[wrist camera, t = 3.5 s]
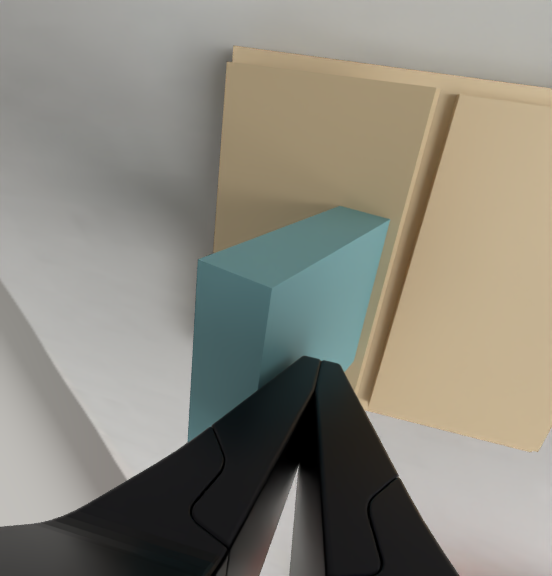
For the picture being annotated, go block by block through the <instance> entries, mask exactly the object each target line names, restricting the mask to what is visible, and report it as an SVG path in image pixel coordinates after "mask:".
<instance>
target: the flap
mask: <svg viewBox="0 0 552 576" xmlns="http://www.w3.org/2000/svg"><path fill="white" fill-rule="evenodd" d="M440 90H441V89H439V88H436V87H428V86H420V85H412V84H404V83H396V82H388V81H380V80H372V79H364V78H356V77H347V76H339V75H331V74H323V73H315V72H307V71H299V70H291V69H283V68H275V67H267V66H259V65H251V64H243V63H235V62H227V66H226V80H225V94H224V108H223V122H222V136H221V149H220V163H219V177H218V191H217V205H216V218H215V232H214V246H213V254H211V255H208V256H206V257H203V258H200V259H198V267H197V284H196V302H195V320H194V338H193V356H192V373H191V391H190V409H189V427H188V442H189V441H191V440H192V439H194V438H195V437H196V436H198V435H199V434H200V433H202V432H203V431H204V430H206V429H207V428H208V427H211V426H212V424H214V423H215V422H216V421H218V420H219V419H220V418H222V417H223V416H224V415H226V414H227V413H228V412H230V411H231V410H232V409H233V408H235V407H236V406H237V405H239V404H240V403H241V402H243V401H244V400H245V399H247V398H248V397H249V396H251V395H252V394H253V393H254V392H256V391H257V390H258V389H260V388H261V387H262V386H264V385H265V384H266V383H268V382H269V381H270V380H272V379H273V378H274V377H275V376H277V375H278V374H279V373H281V372H282V371H283V370H285V369H286V368H287V367H289V366H290V365H291V364H293V363H294V362H295V361H296V360H298V359H299V358H300V357H302V356H304V355H305V356H309V357H314V358H318V359H320V360H321V361H322V360H326V361H331V362H335V363H338V364H340V365H341V367H342V369H343V371H344V373H345V374H346V376H347V378H348V380H349V382H350V384H351V386H352V388H353V390H354V392H355V393H356V395H357V393H358V390H359V386H360V382H361V379H362V375H363V371H364V368H365V364H366V360H367V357H368V353H369V349H370V346H371V342H372V338H373V335H374V331H375V327H376V324H377V320H378V317H379V313H380V309H381V306H382V302H383V298H384V295H385V291H386V287H387V284H388V280H389V276H390V273H391V269H392V265H393V262H394V258H395V254H396V251H397V247H398V243H399V240H400V236H401V232H402V229H403V225H404V221H405V218H406V214H407V210H408V207H409V203H410V199H411V196H412V192H413V188H414V185H415V181H416V177H417V174H418V170H419V166H420V163H421V159H422V156H423V152H424V148H425V145H426V141H427V137H428V134H429V130H430V126H431V123H432V119H433V115H434V112H435V108H436V104H437V101H438V97H439V93H440Z"/></svg>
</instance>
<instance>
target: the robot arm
mask: <svg viewBox="0 0 552 576" xmlns="http://www.w3.org/2000/svg"><path fill="white" fill-rule="evenodd" d="M298 465H299V468H298ZM297 469H298V478H297V490H296V502H295V514H294V526H293V538H292V550H291V562H290V574H289V576H459V574H458V573H457V571H456V570H455V568H454V567H453V565H452V564H451V562H450V561H449V559H448V558H447V556H446V555H445V553H444V552H443V550H442V549H441V547H440V546H439V544H438V543H437V541H436V539H435V538H434V536H433V535H432V533H431V532H430V530H429V528H428V527H427V525H426V524H425V522H424V521H423V519H422V517H421V515H420V513H419V512H418V510H417V508H416V506H415V505H414V503H413V501H412V499H411V498H410V496H409V494H408V492H407V490H406V488H405V486H404V484H403V482H402V481H401V479H400V478H398V477H399V476H398V473H397V471H396V469H395V468H394V466H393V464H392V462H391V460H390V458H389V456H388V454H387V452H386V450H385V449H384V447H383V445H382V443H381V441H380V439H379V437H378V435H377V433H376V431H375V430H374V428H373V426H372V424H371V422H370V420H369V418H368V416H367V414H366V412H365V411H364V409H363V407H362V405H361V403H360V401H359V399H358V397H357V395H356V393H355V392H354V390H353V388H352V386H351V384H350V382H349V380H348V378H347V376H346V374H345V373H344V371H343V369H342V367H341V365H340V364H338V363H335V362H331V361H326V360H322V361H321V360H320V359H318V358H314V357H309V356H305V355H304V356H302V357H300V358H299V359H298V360H296V361H295V362H294V363H293V364H291V365H290V366H289V367H287V368H286V369H285V370H283V371H282V372H281V373H279V374H278V375H277V376H275V377H274V378H273V379H272V380H270V381H269V382H268V383H266V384H265V385H264V386H262V387H261V388H260V389H258V390H257V391H256V392H254V393H253V394H252V395H251V396H249V397H248V398H247V399H245V400H244V401H243V402H241V403H240V404H239V405H237V406H236V407H235V408H233V409H232V410H231V411H230V412H228V413H227V414H226V415H224V416H223V417H222V418H220V419H219V420H218V421H216V422H215V423H214V424H212V426H211V427H208V428H207V429H206V430H204V431H203V432H202V433H200V434H199V435H198V436H196V437H195V438H194V439H192V440H191V441H189V442H188V443H186V444H185V445H184V446H182V447H181V448H179V449H178V450H177V451H175V452H173V453H172V454H170V455H169V456H167V457H165V458H164V459H162V460H161V461H159V462H157V463H156V464H154V465H153V466H151V467H149V468H148V469H146V470H144V471H142V472H141V473H139V474H137V475H136V476H134V477H132V478H131V479H129V480H127V481H125V482H124V483H122V484H120V485H119V486H117V487H115V488H114V489H112V490H110V491H108V492H107V493H105V494H103V495H102V496H100V497H98V498H97V499H95V500H93V501H91V502H90V503H88V504H86V505H84V506H82V507H81V508H79V509H77V510H75V511H73V512H70V513H68V514H66V515H64V516H61V517H58V518H55V519H53V520H49V521H45V522H41V523H34V524H25V525H15V526H4V527H0V576H259V575H260V572H261V569H262V567H263V564H264V561H265V558H266V555H267V553H268V550H269V547H270V544H271V541H272V539H273V536H274V533H275V530H276V528H277V525H278V522H279V519H280V516H281V514H282V511H283V508H284V505H285V502H286V500H287V497H288V494H289V491H290V488H291V486H292V483H293V480H294V477H295V475H296V472H297Z"/></svg>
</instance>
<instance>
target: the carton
mask: <svg viewBox="0 0 552 576" xmlns="http://www.w3.org/2000/svg"><path fill="white" fill-rule="evenodd" d="M232 62H235V63H243V64H251V65H259V66H267V67H275V68H283V69H291V70H299V71H307V72H315V73H323V74H331V75H339V76H347V77H356V78H364V79H372V80H380V81H388V82H396V83H404V84H412V85H420V86H428V87H436V88H439V89H441V90H440V93H439V97H438V101H437V104H436V108H435V112H434V115H433V119H432V123H431V126H430V130H429V134H428V137H427V141H426V145H425V148H424V152H423V156H422V159H421V163H420V166H419V170H418V174H417V177H416V181H415V185H414V188H413V192H412V196H411V199H410V203H409V207H408V210H407V214H406V218H405V221H404V225H403V229H402V232H401V236H400V240H399V243H398V247H397V251H396V254H395V258H394V262H393V265H392V269H391V273H390V276H389V280H388V284H387V287H386V291H385V295H384V298H383V302H382V306H381V309H380V313H379V317H378V320H377V324H376V327H375V331H374V335H373V338H372V342H371V346H370V349H369V353H368V357H367V360H366V364H365V368H364V371H363V375H362V379H361V382H360V386H359V390H358V393H357V397H358V399H359V401H360V403H361V405H362V407H363V409H364V410H366V411H370V412H374V413H378V414H382V415H386V416H390V417H393V418H397V419H401V420H405V421H409V422H413V423H417V424H421V425H425V426H429V427H433V428H437V429H441V430H445V431H449V432H453V433H457V434H460V435H464V436H468V437H472V438H476V439H480V440H484V441H488V442H492V443H496V444H500V445H504V446H508V447H512V448H516V449H520V450H524V451H528V452H532V451H536V452H538V451H539V449H540V447H541V446H542V444H543V442H544V440H545V438H546V436H547V435H548V433H549V431H550V429H551V427H552V88H544V87H537V86H530V85H522V84H515V83H507V82H500V81H492V80H485V79H478V78H470V77H463V76H455V75H448V74H440V73H433V72H426V71H418V70H411V69H403V68H396V67H388V66H381V65H374V64H366V63H359V62H351V61H344V60H337V59H329V58H322V57H314V56H307V55H299V54H292V53H285V52H277V51H270V50H262V49H255V48H247V47H240V46H233V57H232Z"/></svg>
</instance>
